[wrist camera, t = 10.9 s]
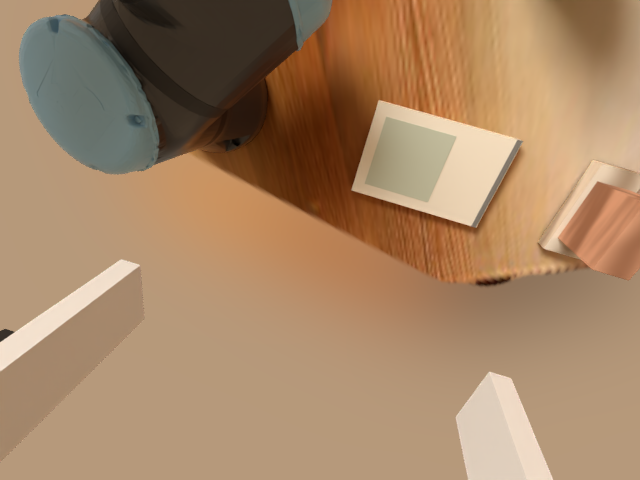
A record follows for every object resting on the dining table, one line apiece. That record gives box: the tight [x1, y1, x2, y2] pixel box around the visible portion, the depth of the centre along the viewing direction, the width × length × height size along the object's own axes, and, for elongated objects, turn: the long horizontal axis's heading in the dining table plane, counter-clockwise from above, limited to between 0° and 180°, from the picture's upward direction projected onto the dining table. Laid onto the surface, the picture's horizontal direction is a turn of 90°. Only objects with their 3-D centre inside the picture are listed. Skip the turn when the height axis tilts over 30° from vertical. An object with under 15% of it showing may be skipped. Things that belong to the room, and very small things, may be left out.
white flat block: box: [352, 100, 523, 228], centre depth 42 cm, size 18×12×2 cm, turn 76°
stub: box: [538, 160, 640, 280], centre depth 37 cm, size 5×12×10 cm, turn 166°
